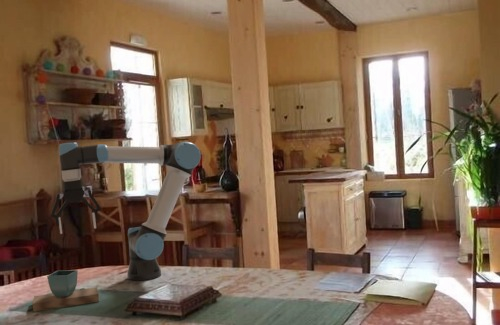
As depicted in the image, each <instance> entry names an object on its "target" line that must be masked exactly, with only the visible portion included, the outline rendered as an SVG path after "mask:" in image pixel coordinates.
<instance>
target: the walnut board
mask: <svg viewBox="0 0 500 325" xmlns="http://www.w3.org/2000/svg"><path fill="white" fill-rule="evenodd" d="M97 302H100V296H99V290H98V288H97V287H89V288H81V289H75V290H74V292H73V293H72V294H71V295H69V296H67V297H55V295H54V294H53V293H47V294H41V295H34V296H33V301H32V311H33V312H39V311H40V312H41V311H44V310H51V309H59V308H66V307H72V306H77V305H78V306H79V305H83V304H84V305H85V304H86V305H87V304H93V303H97Z"/></svg>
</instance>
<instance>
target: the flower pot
mask: <svg viewBox="0 0 500 325" xmlns="http://www.w3.org/2000/svg"><path fill="white" fill-rule="evenodd" d="M78 272H79V271H78V269H71V270H69V269H67V270H56V271H54V272H52V273H49V275H47V281H48V286H49V289H50V292H51V294H54V295H55V297H67V296H69V295H71V294H72V293H73V292H74V290H76V288H77V284H78Z"/></svg>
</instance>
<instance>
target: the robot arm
mask: <svg viewBox="0 0 500 325" xmlns="http://www.w3.org/2000/svg"><path fill="white" fill-rule="evenodd" d="M58 153H59V155H58V156H59V163H60V168H61V178H62V181H63V182H62V185H63V186H62V188H63V193H56V196H55V197H56V198H55V201H54V203H53V204H54V205H53V207H52V210H51V212H50V215H49V216H50V217H51V218H54V219H55V225H56V226H57V227H59V234H60V235H62V234H63V229H62V228H63V227H62V221H61V217H60V216H61V214H62V213H63V211H64V210H65V208H66V207H67V205H68V204H69V203H70V204H74V203H79V202H80V201H81V202H82V203H84V205H85V206H87V207H88V208H89V209H90V210H91V211H92V213H91V216H92V222H93V223H92V224H93V229H95V230H96V229H97V223H96V222H97V221H98V220H99V216H98V212H99V211H101V210H102V207H101V206H100V205H99V203H98V201H97V200H96V198H95V197H94V195H93V194H92V191H91V189H87V190H84V189H83V188H84V187H83V180H82V172H81V165H91V164H159V166H160V167H161V166H163V167H164V166H165V167H166V170H167V173H166V175H165V177H164V179H163V182H162V185H161V186H160V189H159V191H158V194H157V196H156V199H155V201H154V203H153V205H152V209H151V210H150V212H149V215H148V218H147V220H146V221H145V222H143V223H141V226H137V227H129V228H128V230H127V238H128V240H127V241H128V249H129V251H128V252H129V265H128V268H127V275H126V276H127V279H128V280H129V281H145V280H146V281H147V280H151V279H155V278H158V277H161V276H162V270H161V267H160V265H159V262H158V260H157V258H159V256H160V255H162V253H163V250H164V246H165V245H164V241H165V239H166V236H167V234H168V232H167V231H166V228H167V225H168V223H169V220H170V218H171V216H172V213H173V211H174V208H175V205H176V204H177V201H178V200H179V196H180V194H181V191H182V190H183V188H184V184H185V181H186V179H188V178H190V177H192V174H193V171H194V170H195V168H196V167H197V166H198V165H199V164H200V161H201V154H202V153H201V151H200V148H199V147H198V145H196V144H195V143H193V142H191V141H190V142H189V141H182V142H176V143H170V144H160V145H159V146H121V145H120V146H119V145H118V146H115V145H114V146H113V145H112V146H111V145H110V146H108V145H107V144H106V143H105V144H92V145H85V146H79V145H78V142H64V143H60V144H59V145H58ZM85 194H86V195H87V196H88V197H89V198H90V200H91V201H92V203H93V205H94V206H95V207H96V208H95V207H94V206H93V205H92V204H90V203H89V202H88V201H87V200H86V199H85V198H83V197H84V196H85ZM63 197H64V199H65V200H64V202H63V204H62V205H61V206H60V208H59V209H58V211H57V208H58V205H59V203H60V200H61V199H62V198H63ZM56 211H57V212H56Z"/></svg>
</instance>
